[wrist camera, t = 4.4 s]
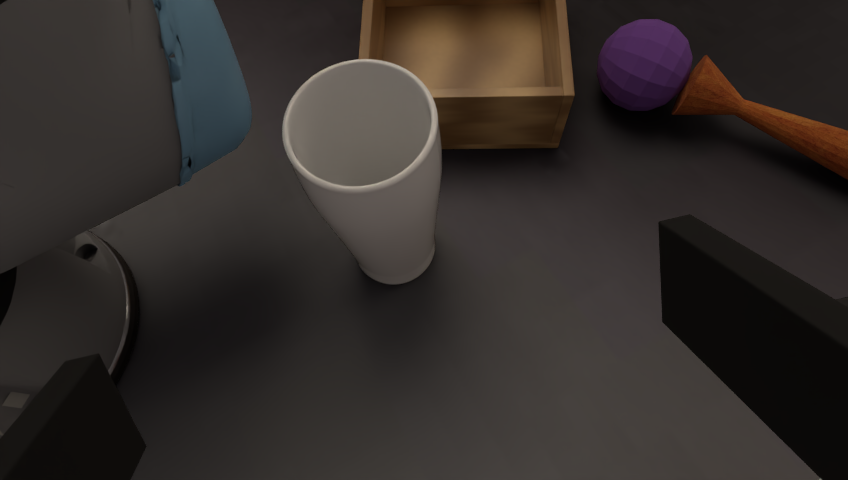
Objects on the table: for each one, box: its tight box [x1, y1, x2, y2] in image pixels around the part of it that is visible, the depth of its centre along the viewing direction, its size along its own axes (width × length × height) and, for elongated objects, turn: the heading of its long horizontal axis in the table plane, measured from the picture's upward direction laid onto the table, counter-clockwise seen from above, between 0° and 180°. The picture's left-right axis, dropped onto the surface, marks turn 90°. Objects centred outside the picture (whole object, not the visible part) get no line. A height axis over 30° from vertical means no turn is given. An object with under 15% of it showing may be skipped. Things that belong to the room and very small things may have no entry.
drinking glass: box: [282, 59, 442, 285], centre depth 30 cm, size 7×7×15 cm
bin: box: [359, 0, 575, 149], centre depth 39 cm, size 13×13×6 cm
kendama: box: [597, 19, 848, 180], centre depth 37 cm, size 6×6×20 cm
